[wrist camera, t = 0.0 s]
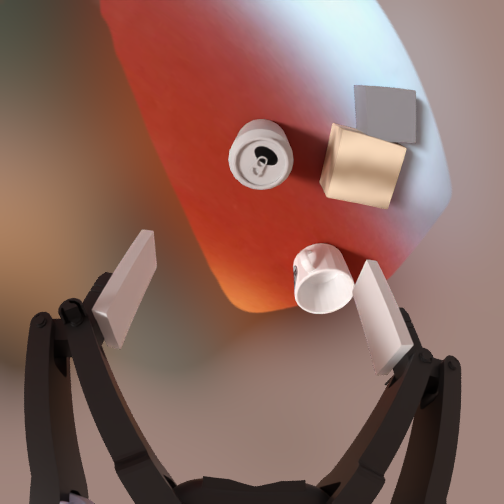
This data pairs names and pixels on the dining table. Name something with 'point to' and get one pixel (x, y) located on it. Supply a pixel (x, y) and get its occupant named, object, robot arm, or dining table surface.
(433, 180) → the dining table surface
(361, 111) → the slate block
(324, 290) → the mug
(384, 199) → the birch block
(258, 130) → the can
